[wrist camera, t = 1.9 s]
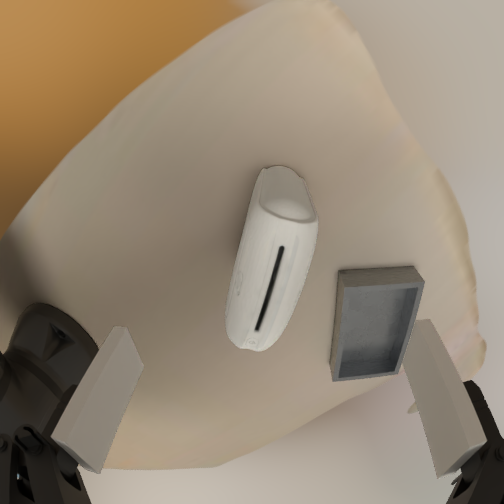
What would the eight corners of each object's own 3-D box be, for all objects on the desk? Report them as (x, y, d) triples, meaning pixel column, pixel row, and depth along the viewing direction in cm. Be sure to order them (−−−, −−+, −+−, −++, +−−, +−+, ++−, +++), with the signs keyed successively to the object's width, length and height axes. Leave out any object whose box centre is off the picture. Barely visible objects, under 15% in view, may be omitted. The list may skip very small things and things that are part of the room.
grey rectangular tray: (329, 363, 35) (332, 381, 32) (338, 270, 29) (344, 287, 26) (391, 356, 34) (397, 373, 31) (413, 266, 28) (424, 281, 25)
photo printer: (278, 274, 30) (278, 372, 19) (235, 264, 29) (212, 358, 18) (309, 172, 25) (337, 226, 14) (260, 159, 25) (248, 203, 14)
